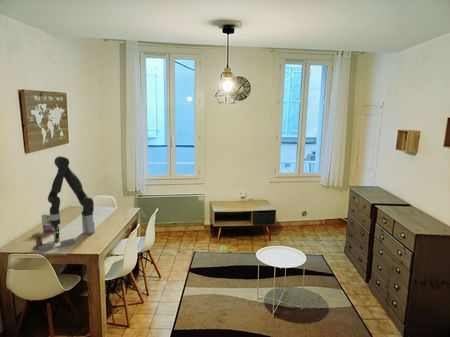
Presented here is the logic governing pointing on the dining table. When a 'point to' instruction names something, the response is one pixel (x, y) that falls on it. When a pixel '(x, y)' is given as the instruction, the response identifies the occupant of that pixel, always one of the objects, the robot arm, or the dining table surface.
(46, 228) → the candy bar box
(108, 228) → the dining table surface
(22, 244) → the dining table surface
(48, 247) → the notch board
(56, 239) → the tab
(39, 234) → the bobbin
